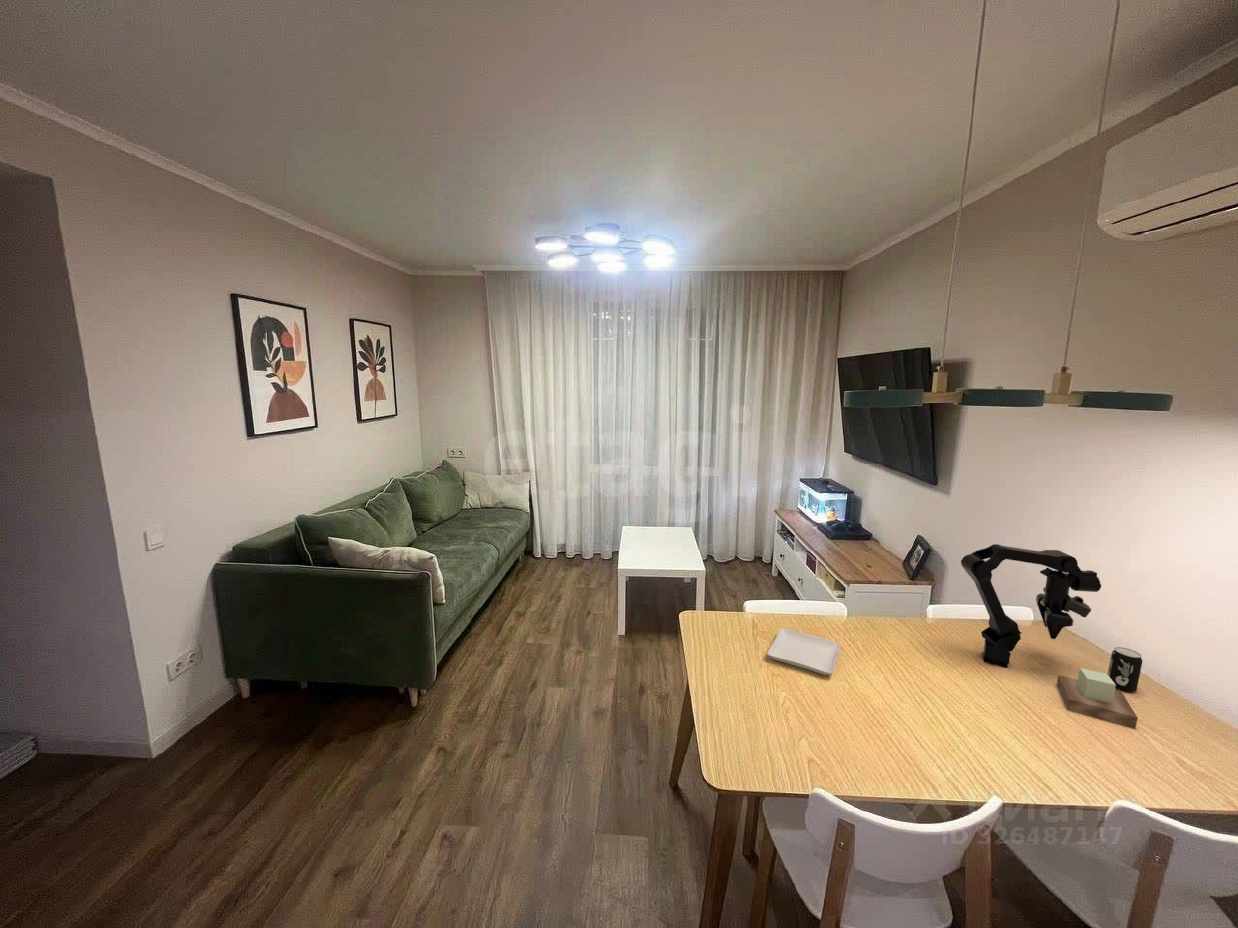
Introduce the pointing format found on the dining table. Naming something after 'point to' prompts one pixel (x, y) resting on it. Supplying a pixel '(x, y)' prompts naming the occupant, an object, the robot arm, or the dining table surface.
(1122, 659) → the beverage can
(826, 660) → the salad plate
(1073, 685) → the walnut box
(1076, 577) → the robot arm
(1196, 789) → the dining table surface
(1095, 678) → the sage cube
